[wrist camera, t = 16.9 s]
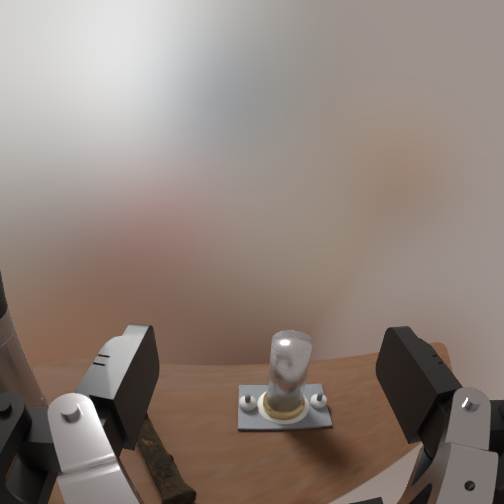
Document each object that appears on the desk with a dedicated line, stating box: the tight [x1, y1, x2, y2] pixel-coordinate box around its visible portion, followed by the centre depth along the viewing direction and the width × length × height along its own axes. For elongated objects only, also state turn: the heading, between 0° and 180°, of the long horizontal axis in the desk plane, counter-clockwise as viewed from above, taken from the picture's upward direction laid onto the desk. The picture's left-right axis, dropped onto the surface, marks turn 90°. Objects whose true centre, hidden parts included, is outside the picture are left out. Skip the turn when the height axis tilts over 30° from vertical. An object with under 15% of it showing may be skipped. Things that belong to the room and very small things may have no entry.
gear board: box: [238, 384, 332, 430], centre depth 40 cm, size 13×9×2 cm
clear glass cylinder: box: [263, 330, 312, 420], centre depth 38 cm, size 6×6×12 cm
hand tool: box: [138, 412, 197, 504], centre depth 30 cm, size 19×4×5 cm, turn 30°
